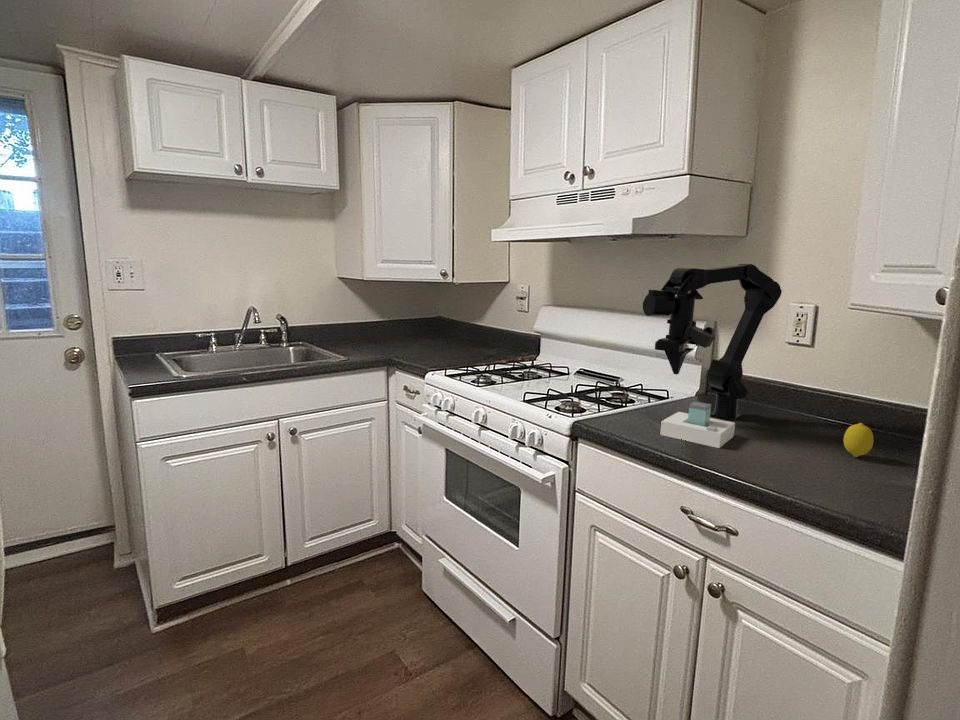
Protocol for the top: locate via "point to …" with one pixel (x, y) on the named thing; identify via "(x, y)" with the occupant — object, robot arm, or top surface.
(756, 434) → the top surface
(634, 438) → the top surface
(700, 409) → the plug
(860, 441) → the lemon
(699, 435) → the socket plate
